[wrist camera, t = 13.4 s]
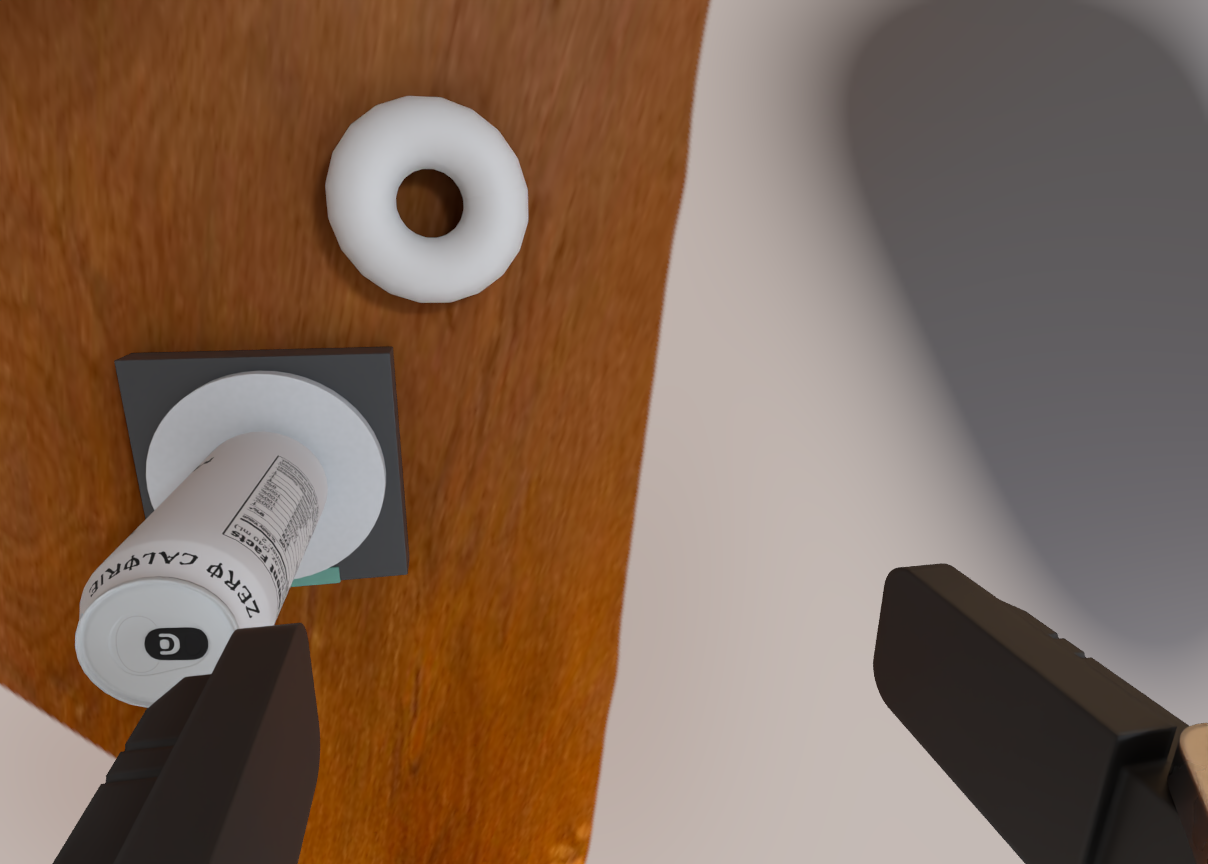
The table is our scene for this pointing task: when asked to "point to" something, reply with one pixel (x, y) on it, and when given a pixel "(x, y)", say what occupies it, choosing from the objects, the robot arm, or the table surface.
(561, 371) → the table surface
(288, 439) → the energy drink can
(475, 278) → the donut
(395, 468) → the scale
